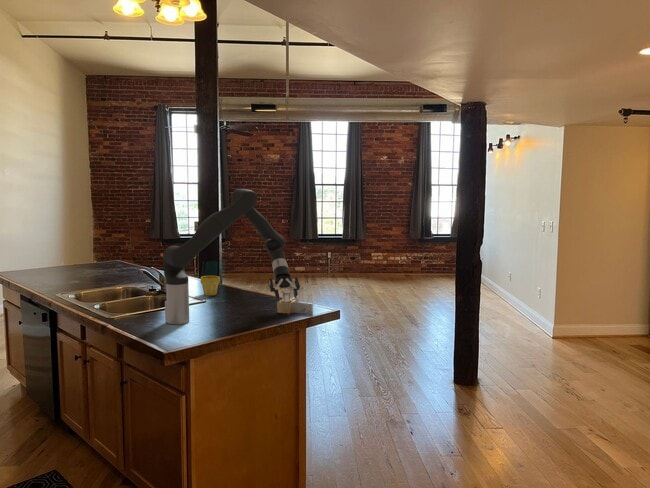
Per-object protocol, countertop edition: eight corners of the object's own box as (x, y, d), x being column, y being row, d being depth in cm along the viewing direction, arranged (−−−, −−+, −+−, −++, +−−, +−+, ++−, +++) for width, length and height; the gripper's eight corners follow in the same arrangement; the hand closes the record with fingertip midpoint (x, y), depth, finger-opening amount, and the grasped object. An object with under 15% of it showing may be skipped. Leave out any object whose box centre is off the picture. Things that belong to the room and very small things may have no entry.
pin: (279, 311, 230) (279, 291, 229) (283, 309, 234) (283, 289, 233) (288, 312, 228) (288, 291, 227) (293, 310, 233) (293, 290, 232)
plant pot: (218, 291, 276) (217, 274, 275) (221, 295, 267) (221, 277, 266) (199, 293, 272) (199, 276, 271) (202, 296, 263) (202, 279, 262)
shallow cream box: (277, 312, 229) (277, 302, 228) (291, 305, 244) (291, 295, 244) (309, 315, 223) (309, 305, 223) (322, 307, 239) (322, 297, 238)
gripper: (267, 265, 233) (273, 294, 224) (296, 264, 238) (303, 292, 228) (265, 275, 239) (271, 302, 229) (293, 273, 243) (300, 300, 234)
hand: (287, 297), depth 229 cm, fingers open, 8 cm apart
